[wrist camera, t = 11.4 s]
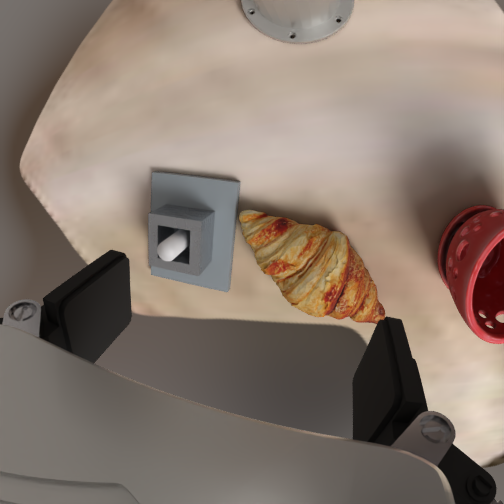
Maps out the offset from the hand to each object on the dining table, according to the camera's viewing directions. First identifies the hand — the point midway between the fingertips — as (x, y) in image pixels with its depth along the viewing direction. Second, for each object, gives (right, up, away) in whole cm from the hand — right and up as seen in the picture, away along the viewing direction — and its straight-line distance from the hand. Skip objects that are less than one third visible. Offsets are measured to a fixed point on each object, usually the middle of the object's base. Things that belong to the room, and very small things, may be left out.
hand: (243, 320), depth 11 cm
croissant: (+8, +1, +28) cm, 29 cm away
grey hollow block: (-7, +5, +28) cm, 30 cm away
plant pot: (+28, +3, +22) cm, 36 cm away
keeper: (-7, +5, +29) cm, 31 cm away
